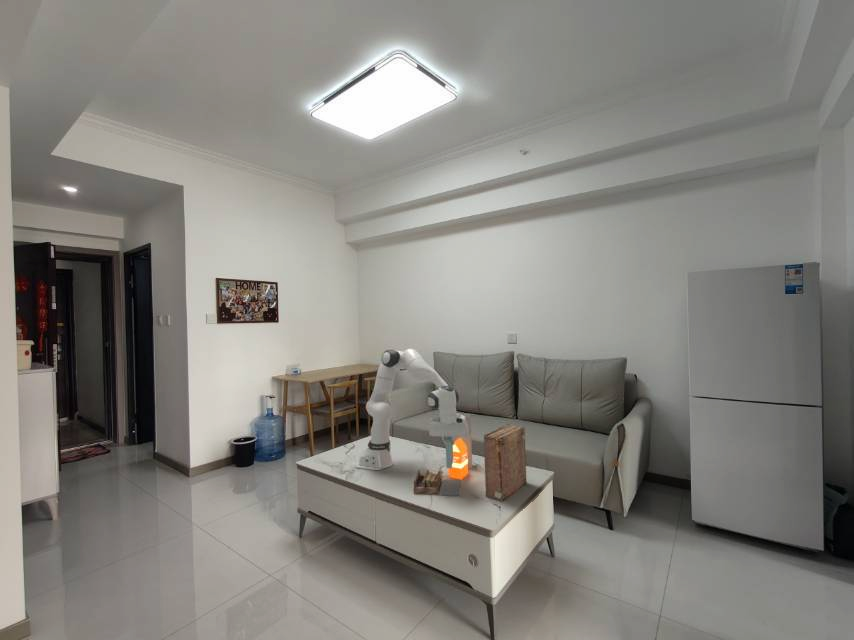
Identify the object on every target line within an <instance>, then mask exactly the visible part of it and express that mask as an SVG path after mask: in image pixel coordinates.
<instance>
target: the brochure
mask: <svg viewBox="0 0 854 640" xmlns="http://www.w3.org/2000/svg"><path fill="white" fill-rule="evenodd" d="M459 414H460V413H459ZM460 415H463V416H465V418H466V419H465V421H466V422H467V425H468V432H469V434H468V436H467V437H457V438H456V440H458V439H459V438H461V439H462V441H463V442H464V444H465V446H466V447H467V458H468V469H473V452H472V451H473V449H472V448H473V446H472V422H471V420H472V419H471V417H472V416H471V414H470V413H468V414H465V413H464V414H462V413H461V414H460ZM453 440H454V437H453ZM456 440H455V441H456Z"/></svg>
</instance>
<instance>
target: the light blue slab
mask: <svg viewBox="0 0 854 640" xmlns="http://www.w3.org/2000/svg"><path fill="white" fill-rule="evenodd" d="M445 440H446V445H445V457H446V458H445V462H446V464H445V465H446V469H449V468H452V464H453V459H454V458H453V445H452V441H453V437H448V436H446V439H445Z"/></svg>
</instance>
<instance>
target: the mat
mask: <svg viewBox="0 0 854 640" xmlns="http://www.w3.org/2000/svg"><path fill="white" fill-rule="evenodd" d="M461 485H462V479H456V478H451V479H450V478H449V479H448V478H443V479H442V480H441V483H440V487H439V491H438V496H440V495H441V496H442V497H443V496H444V497H459V496H460V493H461Z"/></svg>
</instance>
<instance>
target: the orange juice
mask: <svg viewBox="0 0 854 640" xmlns="http://www.w3.org/2000/svg"><path fill="white" fill-rule="evenodd" d="M453 458H454V459H453V464H452V468H448V478H451V477H452V478H451V479H457V480H463V479H465V477H466V476H467V475H468V474H469V468H468V458H467V447H466V446H465V444H464V442H463V441H462V439H461V438H459V439H458V440H456V441H455V445H453Z"/></svg>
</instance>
